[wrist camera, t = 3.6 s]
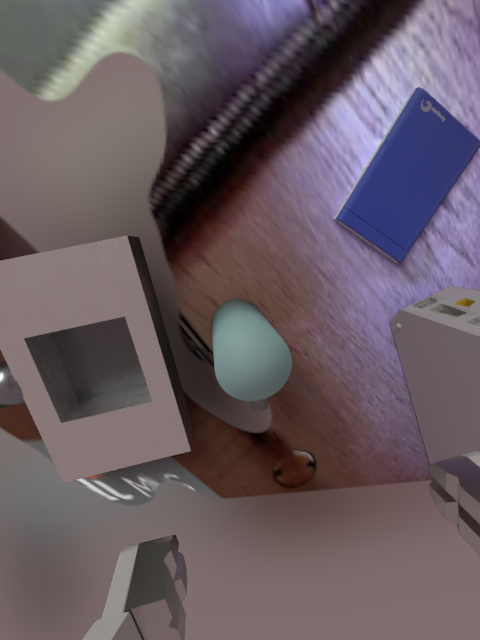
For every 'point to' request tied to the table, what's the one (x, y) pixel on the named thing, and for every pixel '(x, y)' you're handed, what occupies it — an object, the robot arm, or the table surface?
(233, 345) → the toggle switch lever
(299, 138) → the table surface
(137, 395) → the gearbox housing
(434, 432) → the game console
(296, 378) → the table surface
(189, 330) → the table surface
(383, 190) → the hard drive
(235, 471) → the table surface
